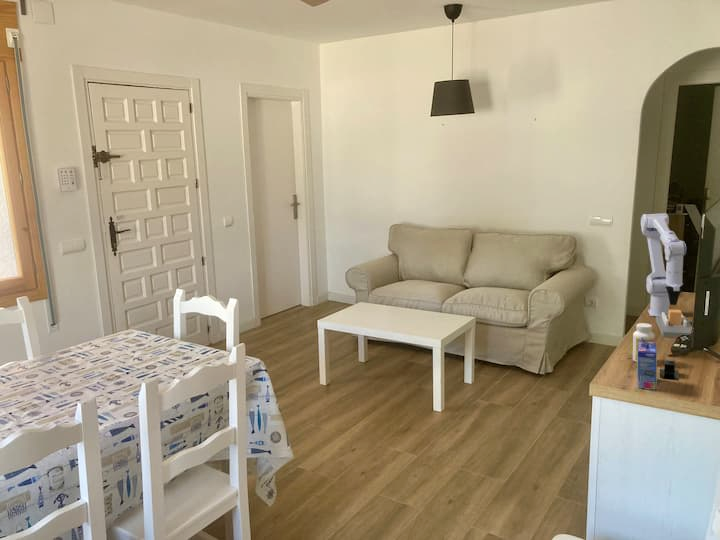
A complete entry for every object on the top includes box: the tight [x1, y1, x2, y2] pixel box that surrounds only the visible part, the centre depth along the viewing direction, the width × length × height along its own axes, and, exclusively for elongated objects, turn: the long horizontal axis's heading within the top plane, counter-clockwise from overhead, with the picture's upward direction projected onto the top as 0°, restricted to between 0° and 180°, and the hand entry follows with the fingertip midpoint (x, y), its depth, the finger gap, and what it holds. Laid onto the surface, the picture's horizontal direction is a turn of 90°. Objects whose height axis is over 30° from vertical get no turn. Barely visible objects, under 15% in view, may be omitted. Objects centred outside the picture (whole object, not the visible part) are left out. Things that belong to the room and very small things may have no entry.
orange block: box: [668, 309, 683, 325], centre depth 226 cm, size 4×4×5 cm
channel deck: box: [655, 312, 693, 338], centre depth 225 cm, size 22×11×4 cm, turn 160°
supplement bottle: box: [632, 322, 656, 363], centre depth 194 cm, size 7×7×13 cm
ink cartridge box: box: [636, 338, 658, 391], centre depth 176 cm, size 10×6×14 cm, turn 155°
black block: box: [660, 359, 680, 381], centre depth 182 cm, size 12×7×5 cm, turn 152°
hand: (673, 304), depth 230 cm, fingers closed
